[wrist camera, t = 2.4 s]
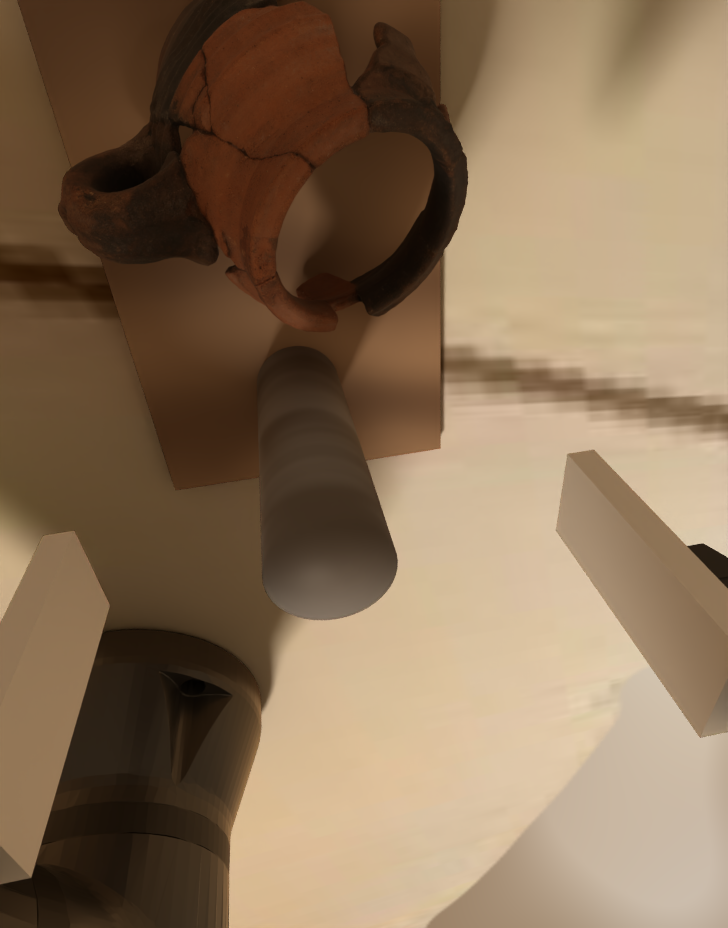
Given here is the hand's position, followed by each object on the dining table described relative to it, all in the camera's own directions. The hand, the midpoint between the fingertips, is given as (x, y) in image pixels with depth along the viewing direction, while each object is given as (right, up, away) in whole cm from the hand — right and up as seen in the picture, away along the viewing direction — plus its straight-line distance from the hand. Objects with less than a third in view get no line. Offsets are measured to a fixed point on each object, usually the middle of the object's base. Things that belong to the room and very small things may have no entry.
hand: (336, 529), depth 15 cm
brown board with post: (-3, +10, +7) cm, 12 cm away
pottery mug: (-3, +13, +5) cm, 14 cm away
